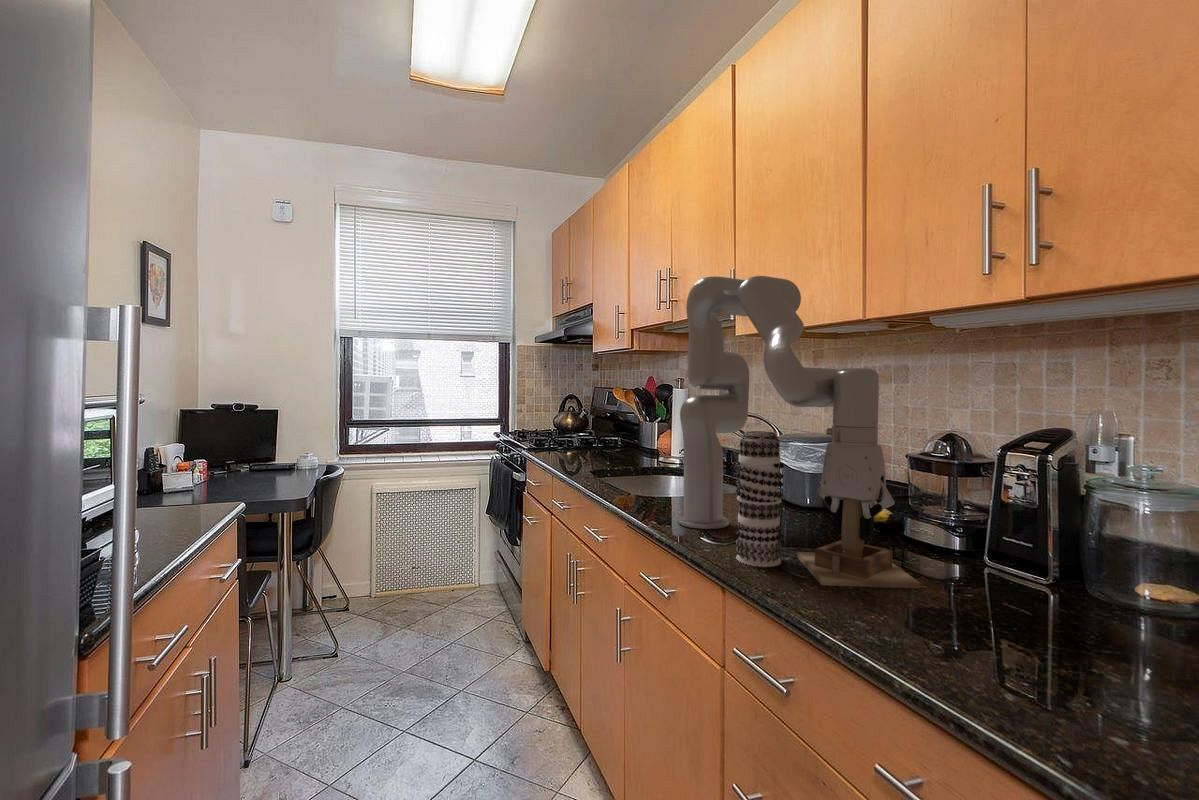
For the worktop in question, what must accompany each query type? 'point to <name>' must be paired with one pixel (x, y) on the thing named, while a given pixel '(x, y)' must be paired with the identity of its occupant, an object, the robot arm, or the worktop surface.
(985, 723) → the worktop surface
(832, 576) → the socket plate
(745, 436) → the decorative candle
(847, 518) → the handle
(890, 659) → the worktop surface
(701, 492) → the robot arm
